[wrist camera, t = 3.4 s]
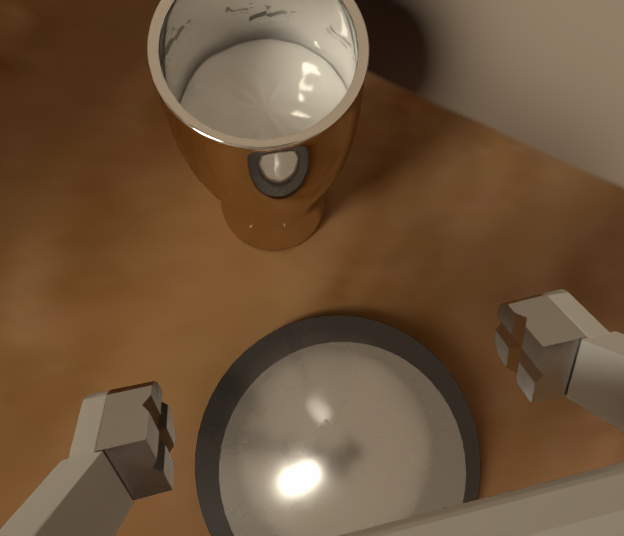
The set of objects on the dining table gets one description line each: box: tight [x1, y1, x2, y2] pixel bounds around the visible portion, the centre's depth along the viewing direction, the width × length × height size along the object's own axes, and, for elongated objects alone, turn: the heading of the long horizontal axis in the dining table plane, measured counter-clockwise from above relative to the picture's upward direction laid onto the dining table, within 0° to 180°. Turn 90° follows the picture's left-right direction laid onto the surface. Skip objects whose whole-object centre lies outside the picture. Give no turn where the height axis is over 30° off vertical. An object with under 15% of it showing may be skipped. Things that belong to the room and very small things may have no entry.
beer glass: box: [147, 0, 369, 251], centre depth 22 cm, size 7×7×15 cm
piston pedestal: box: [195, 315, 481, 536], centre depth 26 cm, size 15×15×3 cm
